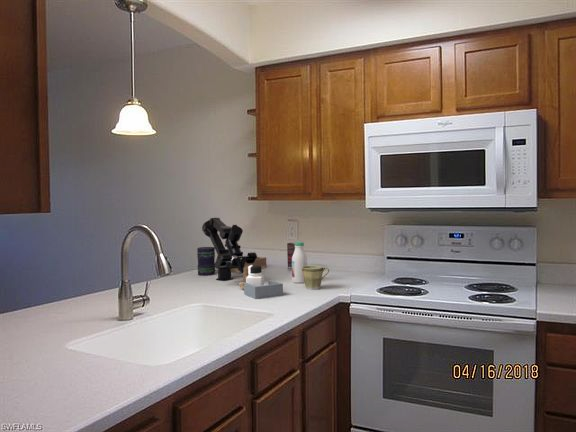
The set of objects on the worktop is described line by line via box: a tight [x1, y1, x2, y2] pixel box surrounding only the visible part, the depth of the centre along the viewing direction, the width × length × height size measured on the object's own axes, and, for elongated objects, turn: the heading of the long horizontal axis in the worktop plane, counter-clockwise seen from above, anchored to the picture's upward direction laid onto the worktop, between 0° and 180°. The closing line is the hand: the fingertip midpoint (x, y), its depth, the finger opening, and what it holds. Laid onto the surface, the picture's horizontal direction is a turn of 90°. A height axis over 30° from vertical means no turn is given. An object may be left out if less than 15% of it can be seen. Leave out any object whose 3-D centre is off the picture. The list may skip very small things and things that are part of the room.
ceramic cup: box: [302, 265, 330, 291], centre depth 213 cm, size 13×10×10 cm
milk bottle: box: [291, 241, 308, 284], centre depth 229 cm, size 8×8×20 cm
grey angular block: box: [243, 279, 284, 300], centre depth 201 cm, size 11×13×5 cm
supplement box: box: [286, 242, 295, 271], centre depth 265 cm, size 9×5×16 cm, turn 46°
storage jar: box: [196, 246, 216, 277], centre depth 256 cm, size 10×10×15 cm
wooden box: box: [231, 256, 267, 274], centre depth 272 cm, size 14×23×6 cm, turn 145°
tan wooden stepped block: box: [239, 267, 248, 290], centre depth 214 cm, size 5×8×9 cm, turn 120°
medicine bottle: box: [246, 265, 265, 286], centre depth 208 cm, size 7×7×12 cm
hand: (243, 272), depth 219 cm, fingers closed
